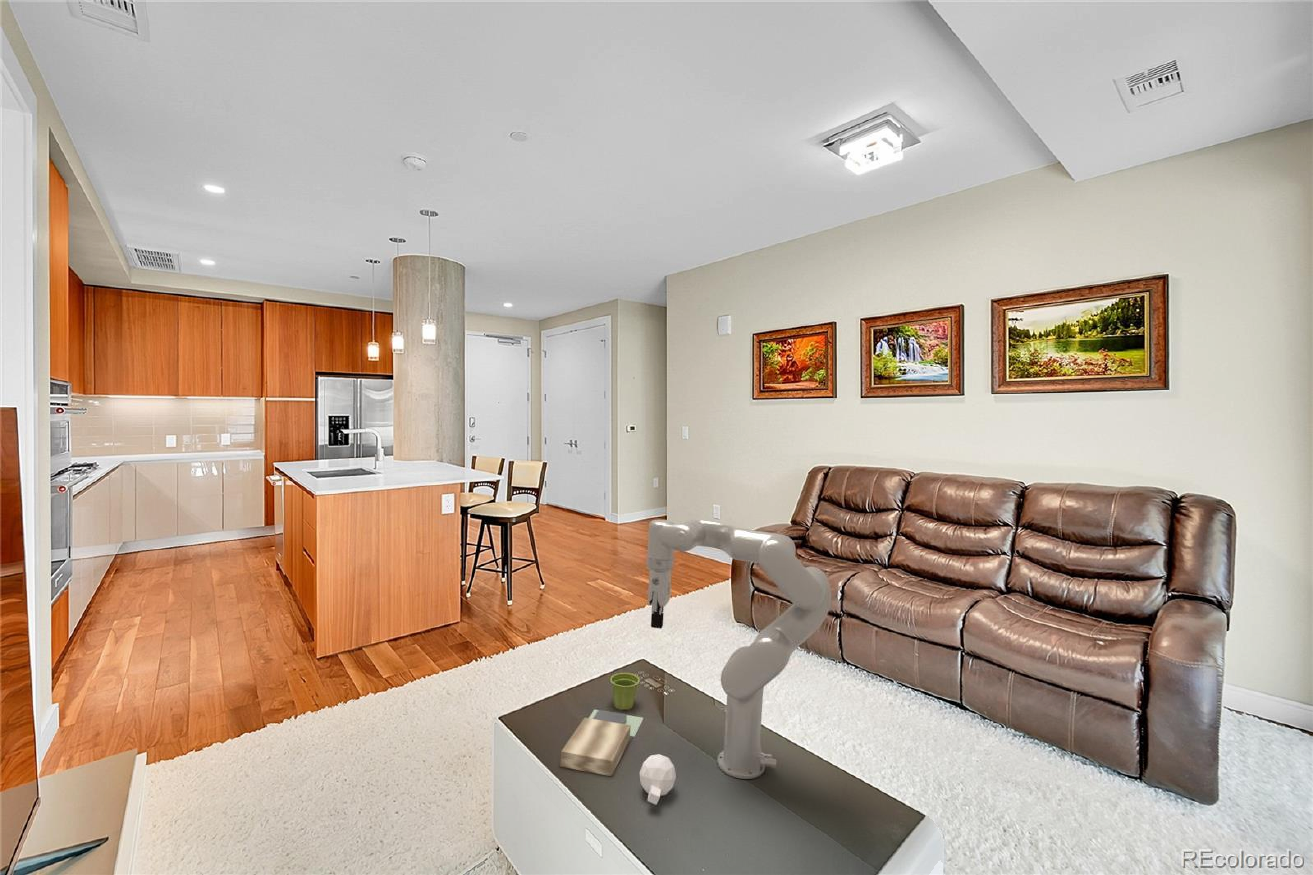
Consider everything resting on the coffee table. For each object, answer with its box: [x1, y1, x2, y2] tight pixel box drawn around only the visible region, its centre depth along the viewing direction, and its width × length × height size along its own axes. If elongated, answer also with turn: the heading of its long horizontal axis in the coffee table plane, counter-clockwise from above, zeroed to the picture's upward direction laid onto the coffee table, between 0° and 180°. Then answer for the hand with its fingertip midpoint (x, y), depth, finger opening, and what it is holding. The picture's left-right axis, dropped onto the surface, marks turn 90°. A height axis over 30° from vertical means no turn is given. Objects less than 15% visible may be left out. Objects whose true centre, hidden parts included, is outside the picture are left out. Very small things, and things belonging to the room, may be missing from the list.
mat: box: [588, 709, 644, 738], centre depth 170 cm, size 16×11×1 cm
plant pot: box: [610, 672, 641, 711], centre depth 181 cm, size 9×9×9 cm
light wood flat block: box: [560, 717, 631, 777], centre depth 154 cm, size 14×18×4 cm
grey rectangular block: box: [593, 709, 628, 724], centre depth 169 cm, size 9×6×2 cm, turn 78°
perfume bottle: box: [639, 753, 677, 805], centre depth 137 cm, size 9×9×12 cm
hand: (656, 626), depth 161 cm, fingers closed
